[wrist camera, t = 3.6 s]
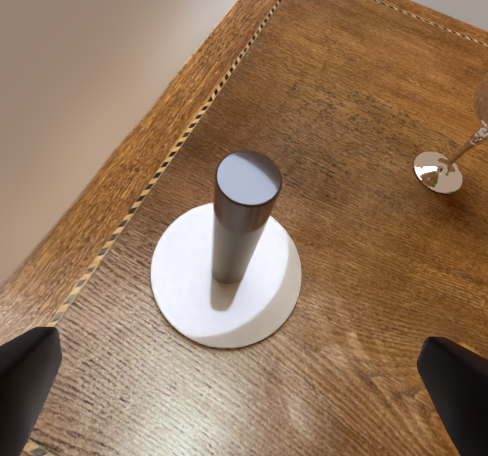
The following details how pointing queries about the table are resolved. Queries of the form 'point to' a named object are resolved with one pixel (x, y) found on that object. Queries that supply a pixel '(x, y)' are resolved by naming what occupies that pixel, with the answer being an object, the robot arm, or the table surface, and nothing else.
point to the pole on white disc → (229, 260)
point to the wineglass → (443, 168)
